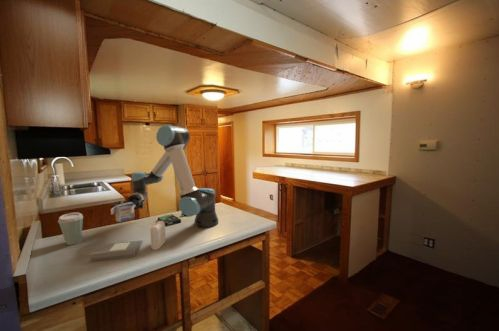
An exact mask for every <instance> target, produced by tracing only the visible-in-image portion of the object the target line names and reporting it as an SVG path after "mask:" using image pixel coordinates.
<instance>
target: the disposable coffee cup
mask: <svg viewBox="0 0 499 331" xmlns="http://www.w3.org/2000/svg"><path fill="white" fill-rule="evenodd" d="M83 220H84V216H83V214H82V212H81V213H80V212H68V213H66V214H62V215H61V216H59V217H58V220H57V223H58V224H59V227H60V230H61V233H62V235H63V240H64V241H65V242H64V243H65V244H66V245H68V246H71V245H76V244H79V243H81V242H82V240H83V239H82V237H83V224H84V223H83Z"/></svg>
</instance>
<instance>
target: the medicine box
mask: <svg viewBox="0 0 499 331" xmlns="http://www.w3.org/2000/svg"><path fill="white" fill-rule="evenodd" d="M133 205H134V203H132V202H127V203H123V204H119V205H115V213H114V214H115V221H116V222H118V223H124V222H127V221H130V220H134V219H135V218H136V216H135V211H134V212H133V213H131V210H130V208H131V207H132V206H133Z"/></svg>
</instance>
